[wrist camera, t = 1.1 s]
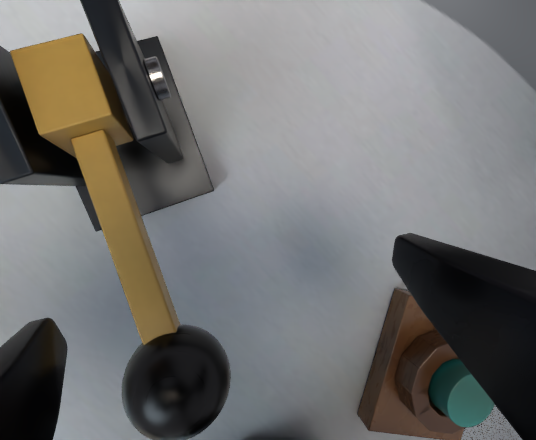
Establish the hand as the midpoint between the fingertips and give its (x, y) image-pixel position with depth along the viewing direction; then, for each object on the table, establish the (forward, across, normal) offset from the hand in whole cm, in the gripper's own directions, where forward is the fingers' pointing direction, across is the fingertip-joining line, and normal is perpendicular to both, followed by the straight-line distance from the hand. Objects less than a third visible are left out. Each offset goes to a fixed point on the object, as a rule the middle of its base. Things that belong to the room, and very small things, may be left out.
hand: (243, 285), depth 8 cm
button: (+3, -13, +16) cm, 21 cm away
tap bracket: (+14, +4, -1) cm, 14 cm away
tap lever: (+5, +3, +1) cm, 6 cm away
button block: (+6, -13, +17) cm, 22 cm away
